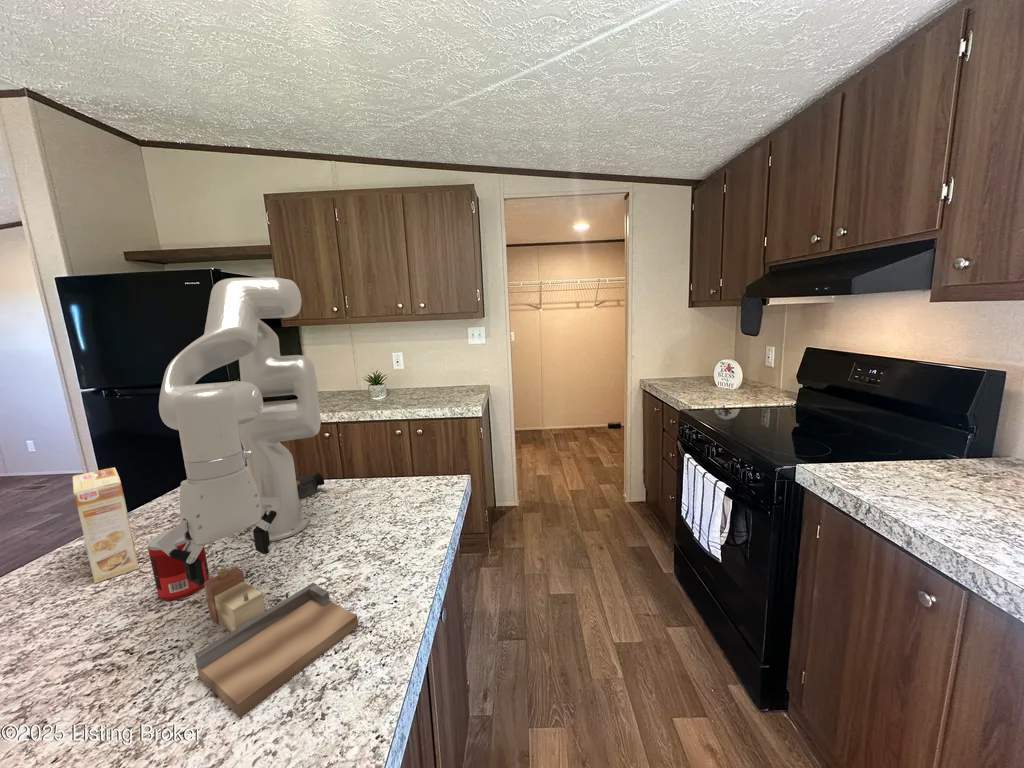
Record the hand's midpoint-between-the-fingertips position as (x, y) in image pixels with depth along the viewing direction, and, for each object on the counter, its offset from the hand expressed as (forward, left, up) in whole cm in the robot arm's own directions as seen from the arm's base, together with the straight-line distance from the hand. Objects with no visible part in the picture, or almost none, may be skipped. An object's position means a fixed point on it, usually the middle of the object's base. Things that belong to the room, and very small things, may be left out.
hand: (232, 566), depth 68 cm
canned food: (-21, -1, -11) cm, 24 cm away
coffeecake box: (-46, -5, -11) cm, 48 cm away
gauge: (-2, 0, -11) cm, 11 cm away
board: (+12, 0, -11) cm, 16 cm away
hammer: (-42, +31, -11) cm, 54 cm away
